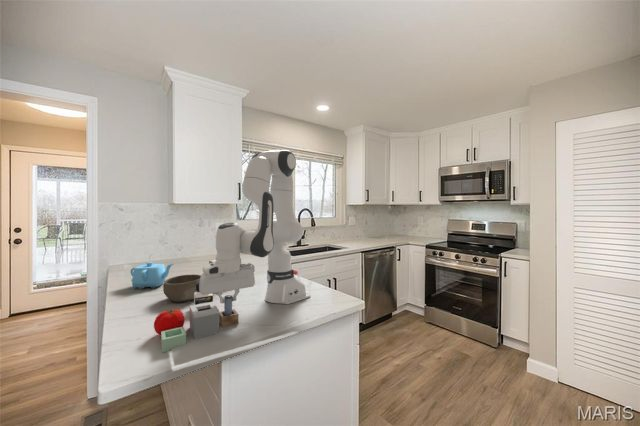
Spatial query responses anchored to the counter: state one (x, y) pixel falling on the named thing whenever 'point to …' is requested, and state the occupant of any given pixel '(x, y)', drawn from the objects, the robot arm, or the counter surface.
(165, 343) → the rest socket
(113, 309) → the counter surface
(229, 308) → the grey rod
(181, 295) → the bowl
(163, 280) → the teapot
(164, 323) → the tomato
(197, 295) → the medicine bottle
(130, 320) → the counter surface
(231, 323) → the holder
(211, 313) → the grey hollow block
